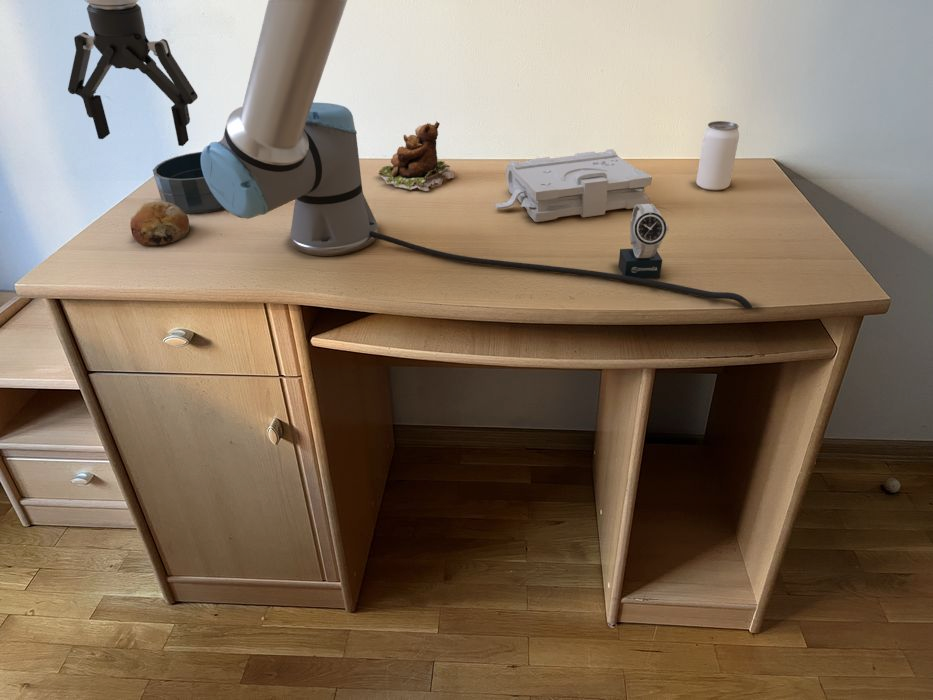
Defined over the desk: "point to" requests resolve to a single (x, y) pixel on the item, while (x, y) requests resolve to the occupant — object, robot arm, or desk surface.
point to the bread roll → (159, 223)
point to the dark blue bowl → (185, 184)
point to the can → (717, 155)
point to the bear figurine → (417, 162)
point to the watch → (644, 243)
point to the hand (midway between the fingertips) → (144, 139)
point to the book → (575, 185)
